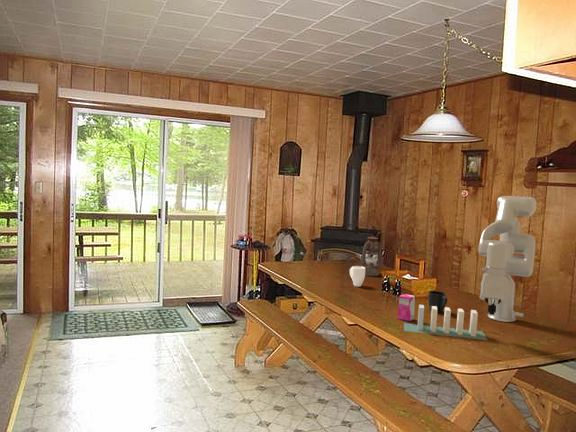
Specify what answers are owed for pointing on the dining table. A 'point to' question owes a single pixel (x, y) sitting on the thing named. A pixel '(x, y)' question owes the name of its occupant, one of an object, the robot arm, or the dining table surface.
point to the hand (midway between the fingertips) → (491, 313)
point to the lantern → (372, 250)
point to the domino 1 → (420, 317)
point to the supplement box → (406, 307)
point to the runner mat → (440, 331)
